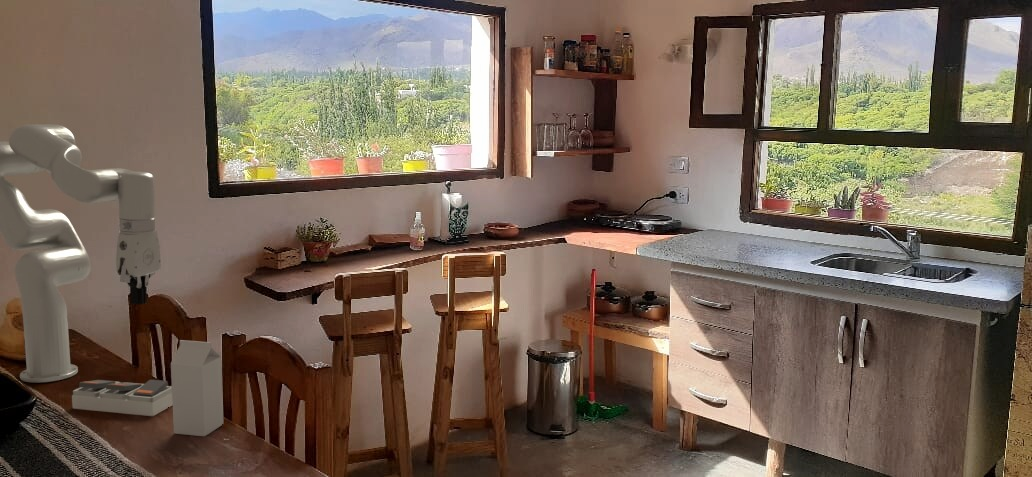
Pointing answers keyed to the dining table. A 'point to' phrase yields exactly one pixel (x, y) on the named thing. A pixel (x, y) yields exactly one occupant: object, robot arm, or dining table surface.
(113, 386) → the rocker
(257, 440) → the dining table surface
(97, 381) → the rocker
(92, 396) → the rocker switch box
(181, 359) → the milk carton
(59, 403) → the dining table surface
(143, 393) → the rocker
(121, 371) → the dining table surface
